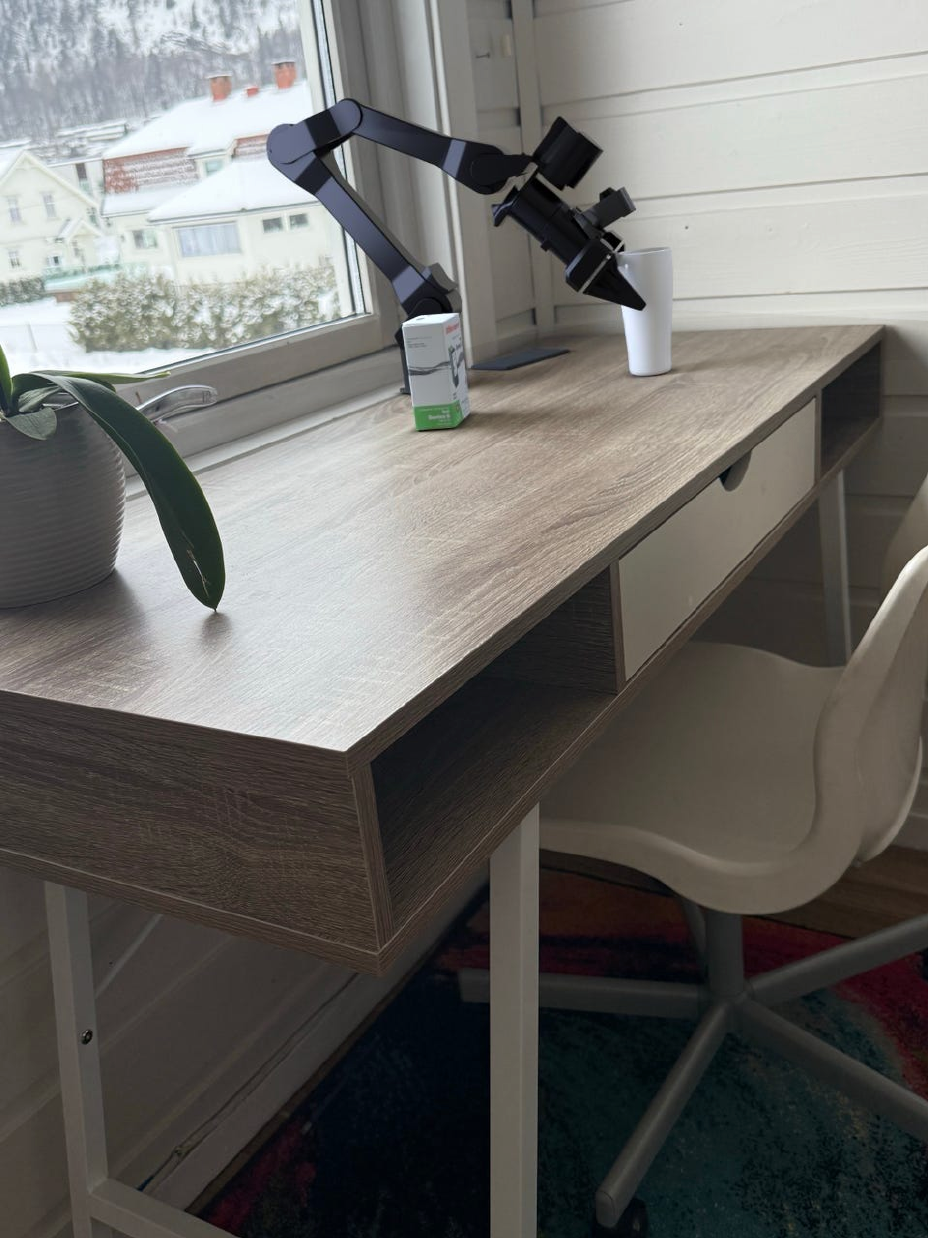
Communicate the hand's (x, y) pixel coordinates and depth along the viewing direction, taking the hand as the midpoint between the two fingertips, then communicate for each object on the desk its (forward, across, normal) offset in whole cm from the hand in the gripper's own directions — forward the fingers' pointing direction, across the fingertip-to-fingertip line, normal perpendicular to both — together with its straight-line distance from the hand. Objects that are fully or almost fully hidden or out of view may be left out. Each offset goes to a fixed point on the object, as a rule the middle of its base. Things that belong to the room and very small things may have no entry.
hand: (646, 303), depth 143 cm
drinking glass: (+6, 0, +6) cm, 9 cm away
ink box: (-10, -21, +22) cm, 32 cm away
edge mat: (-8, +20, +20) cm, 29 cm away
